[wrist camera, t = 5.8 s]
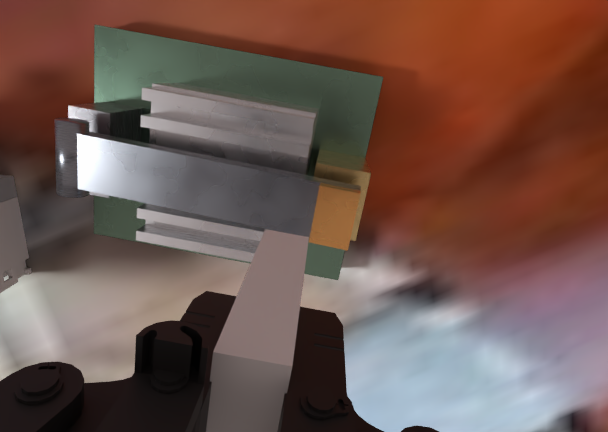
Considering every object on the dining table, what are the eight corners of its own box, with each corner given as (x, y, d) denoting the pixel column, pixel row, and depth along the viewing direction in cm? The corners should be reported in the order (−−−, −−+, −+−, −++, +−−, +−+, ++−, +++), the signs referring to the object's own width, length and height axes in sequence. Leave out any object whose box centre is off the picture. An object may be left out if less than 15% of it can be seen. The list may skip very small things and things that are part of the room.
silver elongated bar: (69, 186, 24) (45, 195, 22) (68, 116, 22) (42, 119, 21) (347, 245, 23) (345, 259, 21) (362, 175, 21) (362, 183, 19)
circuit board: (108, 224, 32) (45, 264, 25) (111, 28, 27) (35, 11, 20) (338, 267, 31) (338, 320, 25) (380, 77, 27) (394, 76, 20)
